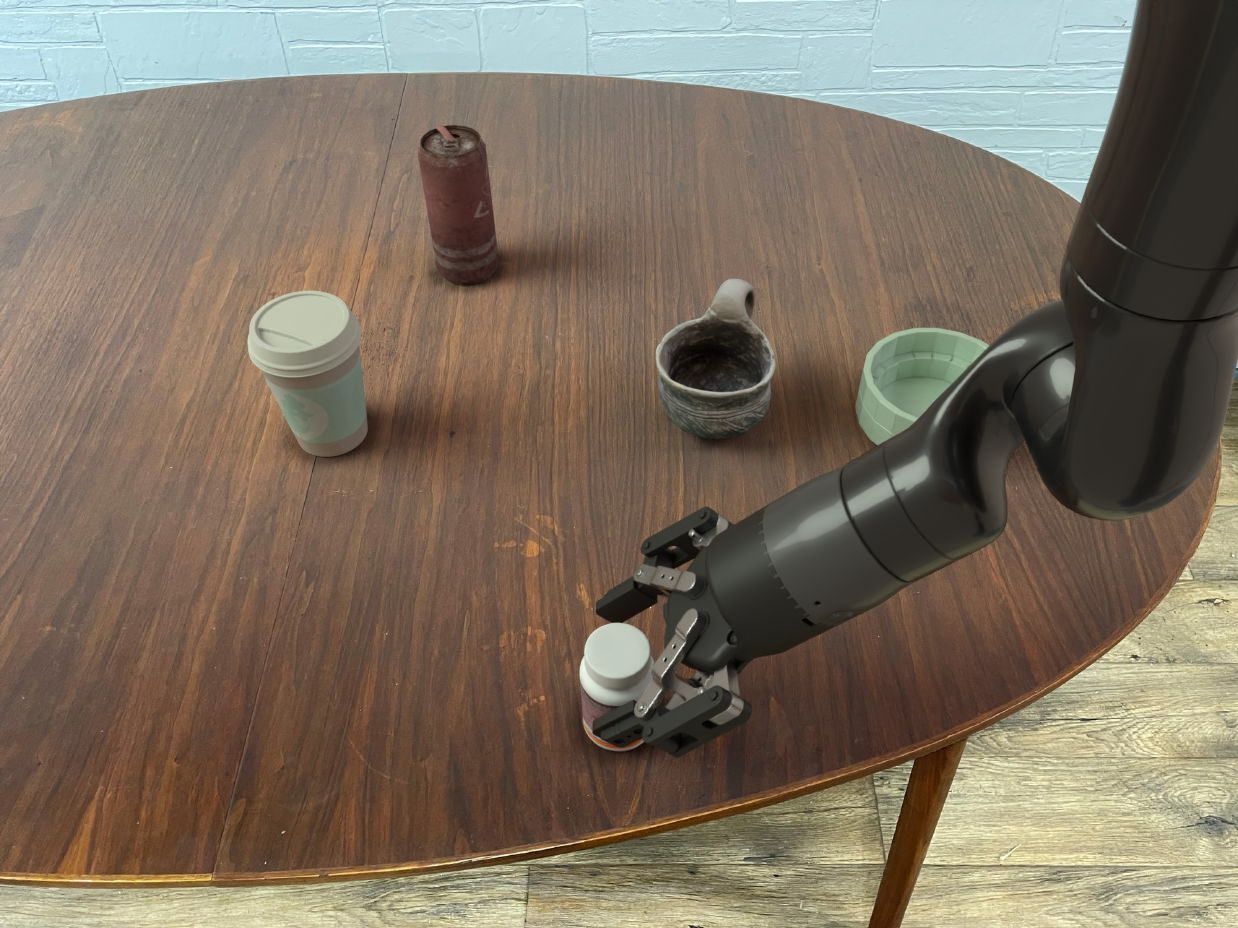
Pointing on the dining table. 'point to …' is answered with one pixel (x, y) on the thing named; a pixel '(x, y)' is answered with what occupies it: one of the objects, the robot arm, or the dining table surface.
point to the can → (459, 203)
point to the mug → (717, 367)
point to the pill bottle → (613, 674)
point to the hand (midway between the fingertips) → (603, 671)
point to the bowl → (910, 377)
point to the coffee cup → (313, 368)
